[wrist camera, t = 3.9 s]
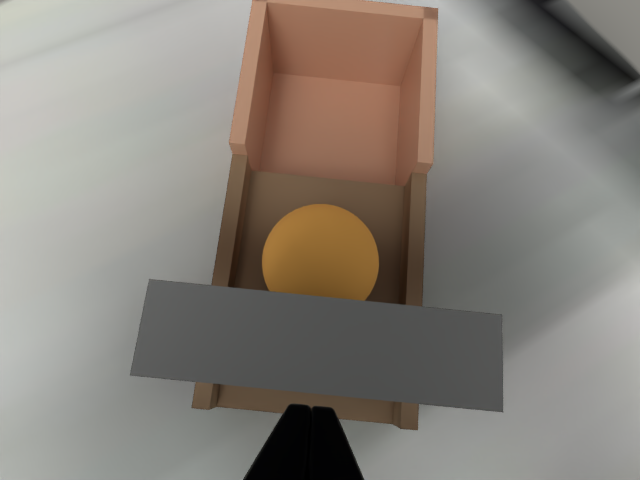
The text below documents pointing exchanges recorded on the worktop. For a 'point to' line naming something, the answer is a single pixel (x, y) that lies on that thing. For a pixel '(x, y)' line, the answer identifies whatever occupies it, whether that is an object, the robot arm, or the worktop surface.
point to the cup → (338, 90)
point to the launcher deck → (246, 272)
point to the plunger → (320, 345)
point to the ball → (321, 254)
